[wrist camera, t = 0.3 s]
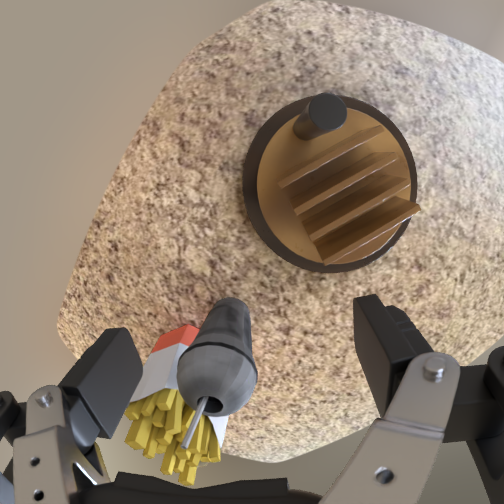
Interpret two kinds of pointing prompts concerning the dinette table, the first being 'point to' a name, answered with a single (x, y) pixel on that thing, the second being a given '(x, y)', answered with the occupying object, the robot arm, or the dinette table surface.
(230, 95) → the dinette table surface
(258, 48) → the dinette table surface
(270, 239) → the base
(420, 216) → the dinette table surface
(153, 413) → the french fries container
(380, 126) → the plate rack
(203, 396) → the beverage cup
